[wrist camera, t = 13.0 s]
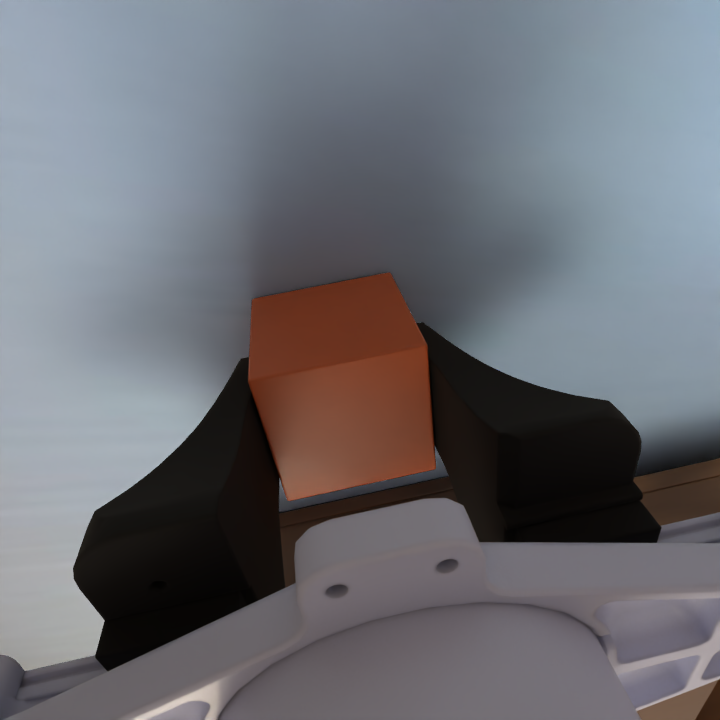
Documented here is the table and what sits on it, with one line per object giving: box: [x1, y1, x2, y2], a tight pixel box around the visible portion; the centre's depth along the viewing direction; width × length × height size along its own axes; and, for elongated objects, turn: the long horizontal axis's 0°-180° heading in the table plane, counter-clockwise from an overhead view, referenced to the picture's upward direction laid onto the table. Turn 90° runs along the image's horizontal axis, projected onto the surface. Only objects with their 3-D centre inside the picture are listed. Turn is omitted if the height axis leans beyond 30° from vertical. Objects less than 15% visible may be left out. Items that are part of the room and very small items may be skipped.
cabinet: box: [279, 476, 718, 720], centre depth 20 cm, size 14×12×8 cm
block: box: [248, 272, 436, 501], centre depth 14 cm, size 4×4×4 cm
